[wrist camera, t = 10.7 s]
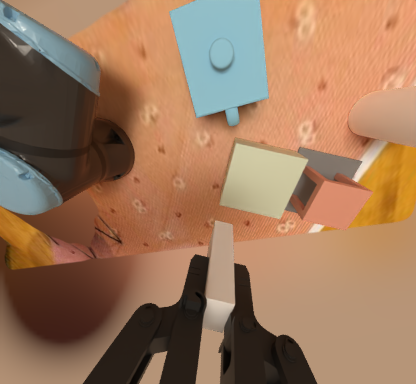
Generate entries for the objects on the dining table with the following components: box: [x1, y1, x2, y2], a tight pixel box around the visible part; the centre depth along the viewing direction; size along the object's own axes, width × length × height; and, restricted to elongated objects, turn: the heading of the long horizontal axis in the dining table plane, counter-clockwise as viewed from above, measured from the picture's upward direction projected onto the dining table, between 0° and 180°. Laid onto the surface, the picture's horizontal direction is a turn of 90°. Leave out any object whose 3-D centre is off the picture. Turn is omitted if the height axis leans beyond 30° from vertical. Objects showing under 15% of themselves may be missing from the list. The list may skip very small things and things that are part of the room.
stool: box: [290, 166, 373, 230], centre depth 38 cm, size 10×9×9 cm
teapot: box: [169, 0, 269, 126], centre depth 27 cm, size 22×11×14 cm, turn 14°
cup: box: [348, 86, 416, 147], centre depth 27 cm, size 8×8×16 cm
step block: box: [220, 138, 308, 219], centre depth 39 cm, size 14×14×7 cm
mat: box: [285, 147, 362, 213], centre depth 42 cm, size 14×16×1 cm
